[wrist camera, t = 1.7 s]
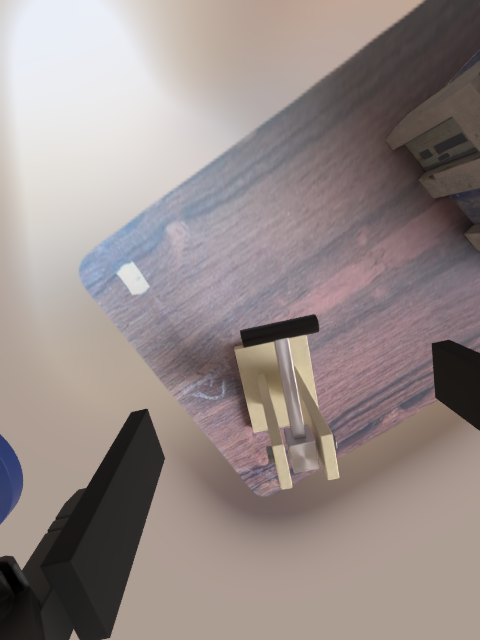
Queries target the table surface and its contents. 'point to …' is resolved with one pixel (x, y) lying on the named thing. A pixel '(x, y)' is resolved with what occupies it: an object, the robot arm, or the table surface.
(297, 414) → the lever
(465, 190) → the building
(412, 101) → the table surface
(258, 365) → the bracket
